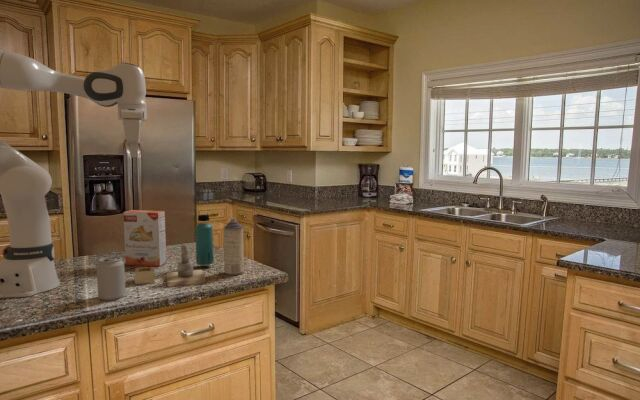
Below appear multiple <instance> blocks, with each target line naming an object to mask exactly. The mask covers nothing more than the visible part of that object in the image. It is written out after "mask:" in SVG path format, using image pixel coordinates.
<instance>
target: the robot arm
mask: <svg viewBox="0 0 640 400" xmlns="http://www.w3.org/2000/svg"><path fill="white" fill-rule="evenodd" d="M146 87H147V83H146V76H145V72H144V71H143V68H141V67H139V66H138V65H136V64H133V63H130V62H129V63H128V62H118V63H116V65H114V66H112V67H111V68H107V69H103V70H100V71H94V72H91V73H90V74H88V75H87V76H86V77H81V76H77V75H73V74H69V73H65V72H60V71H57V70H54V69H52V68H50V67H48V66H47V65H45V64H43V63H41V62H40V61H38V60H37V59H34V58H32V57H30V56H26V55H23V54H21V53H17V52H13V51H11V50H10V51H9V50H4V49H0V89H7V90H14V91H24V92H27V91H29V92H31V91H32V92H56V93H61V94H66V95H72V96H75V97H81V98H82V97H83V98H86V99H88V100H90V101H92V102H94V104H97V105H98V106H100V107H103V108H104V107H105V108H111V107H114V106H116V105H117V120H120V121H122V126H123V131H124V137H125V141H126V143H128V144H129V150H130V158H136V157H138V156H139V152H138V150H139V144H140V143H141V126H144V121H148V107H147V106H148V104H147V103H146V102H147V101H146V95H147V88H146ZM52 184H53V179H52V176H51V175H50V173H49V171H47V170H46V169H45V168H43V167H42V166H40V165H39V164H38V163H36V162H35V161H34V160H32V159H30V158H29V157H27V156H26V155H25V154H23V153H22V152H20V151H19V150H17V149H15V148H14V147H12V146H11V145H9V143H7V142H5V141H4V140H3V139H2V138H0V195H1V200H2V204H3V208H4V211H5V214H6V219H7V223H8V224H7V225H8V234H9V235H8V237H9V244H7V245H6V246H5V247H4V248H3V249H2V251H1V255H2V257H3V259H1V260H0V298H1V299H3V298H6V299H7V298H23V297H24V298H25V297H31V296H35V295H37V294H39V293H43V292H47V291H50V290H51V291H52V290H53V289H56V288H58V287H59V286H60V285H61V282H60V279H59V277H58V273H57V270H56V267H55V266H56V265H55V258H56V257H55V255H56V254H55V246H54V242H53V241H52V227H51V224H52V223H51V216H50V215H49V212H48V208H47V202H46V198H45V196H46V195H47V194H48V193H49V191H50V190H51V188H52Z"/></svg>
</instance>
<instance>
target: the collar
mask: <svg viewBox="0 0 640 400" xmlns="http://www.w3.org/2000/svg"><path fill="white" fill-rule="evenodd" d="M155 281H156V280H155V266H144V267H143V266H142V267H135V268H134V284H135V285H146V284H147V285H148V284H154V283H156V282H155Z"/></svg>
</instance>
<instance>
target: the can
mask: <svg viewBox="0 0 640 400" xmlns="http://www.w3.org/2000/svg"><path fill="white" fill-rule="evenodd" d="M122 259H123V258H122V257H121V256H107V257H101V258H99V259H98V263H96V280H97V283H96V284H97V297H98V298H99V299H101V301H108V302H109V301H115V300H120V299H122V298H123V297H124V296H125V295H126V276H125V261H123V260H122Z"/></svg>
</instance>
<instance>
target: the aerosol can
mask: <svg viewBox="0 0 640 400" xmlns="http://www.w3.org/2000/svg"><path fill="white" fill-rule="evenodd" d="M223 254H224V255H223V256H224V257H223V258H224V259H223V262H224V268H223V269H224V275H226V276H231V277H232V276H233V277H234V276H235V277H236V276H240V275H243V274H244V272H245V271H244V270H245V268H244V267H245V265H244V263H245V262H244V261H245V260H244V256H245V255H244V254H245V253H244V227H243V225H241V224H240V223H239V221H237V218H236V217H231V218H230V221H229V222H228V223H227V224H226V225H225V226H224V227H223Z"/></svg>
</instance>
